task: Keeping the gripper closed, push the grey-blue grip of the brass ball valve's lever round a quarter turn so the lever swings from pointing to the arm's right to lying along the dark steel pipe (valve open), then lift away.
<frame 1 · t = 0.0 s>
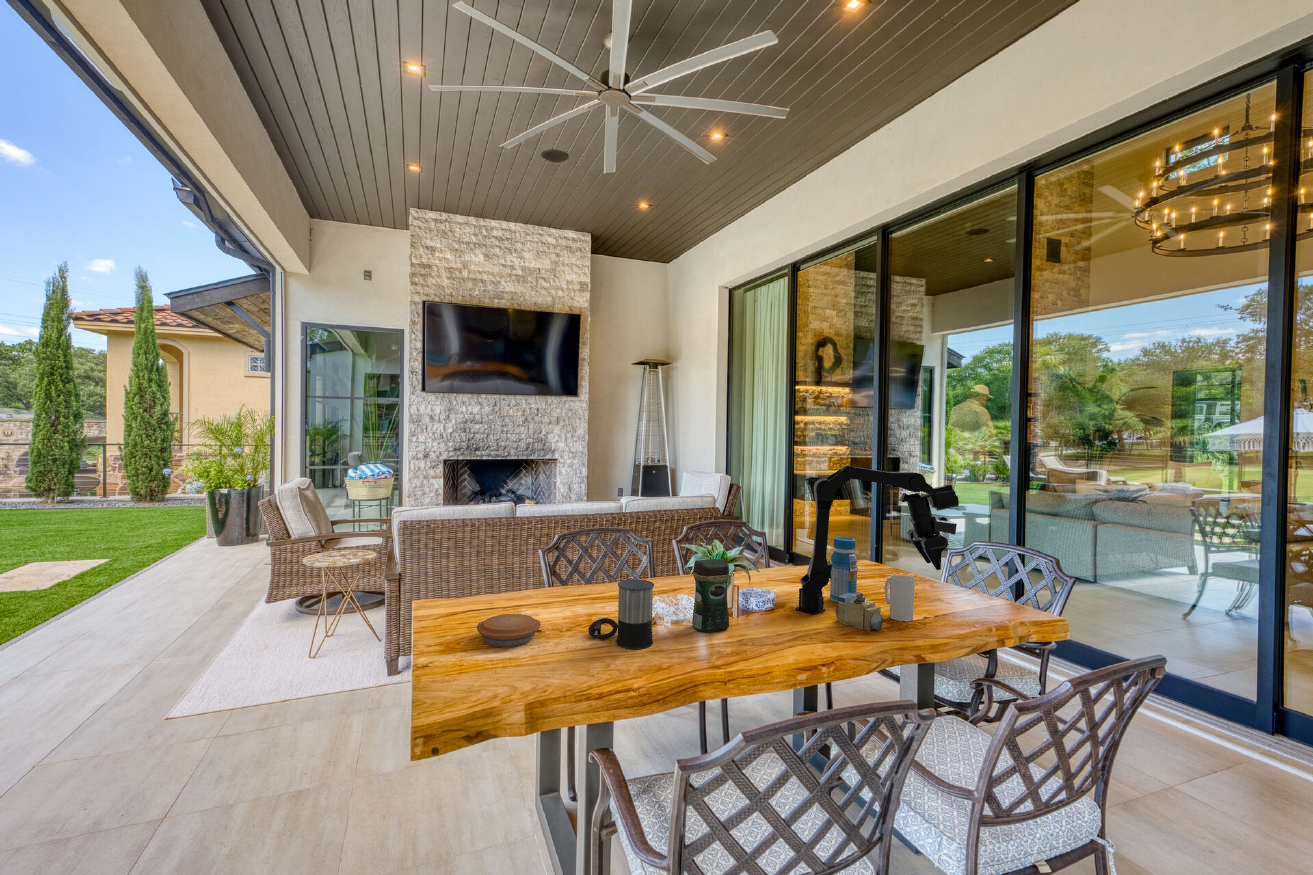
hand: (933, 566, 167), 15 cm above the table, tool pointing down, fingers open, 9 cm apart
mug: (897, 617, 169), on the table
pie: (508, 640, 143), on the table
beverage bottle: (843, 601, 185), on the table
milk frother: (620, 640, 144), on the table
coffee jar: (710, 628, 155), on the table
valve: (858, 624, 161), on the table
lever: (851, 598, 158), point 8 cm above the table, hinge at 0.0°
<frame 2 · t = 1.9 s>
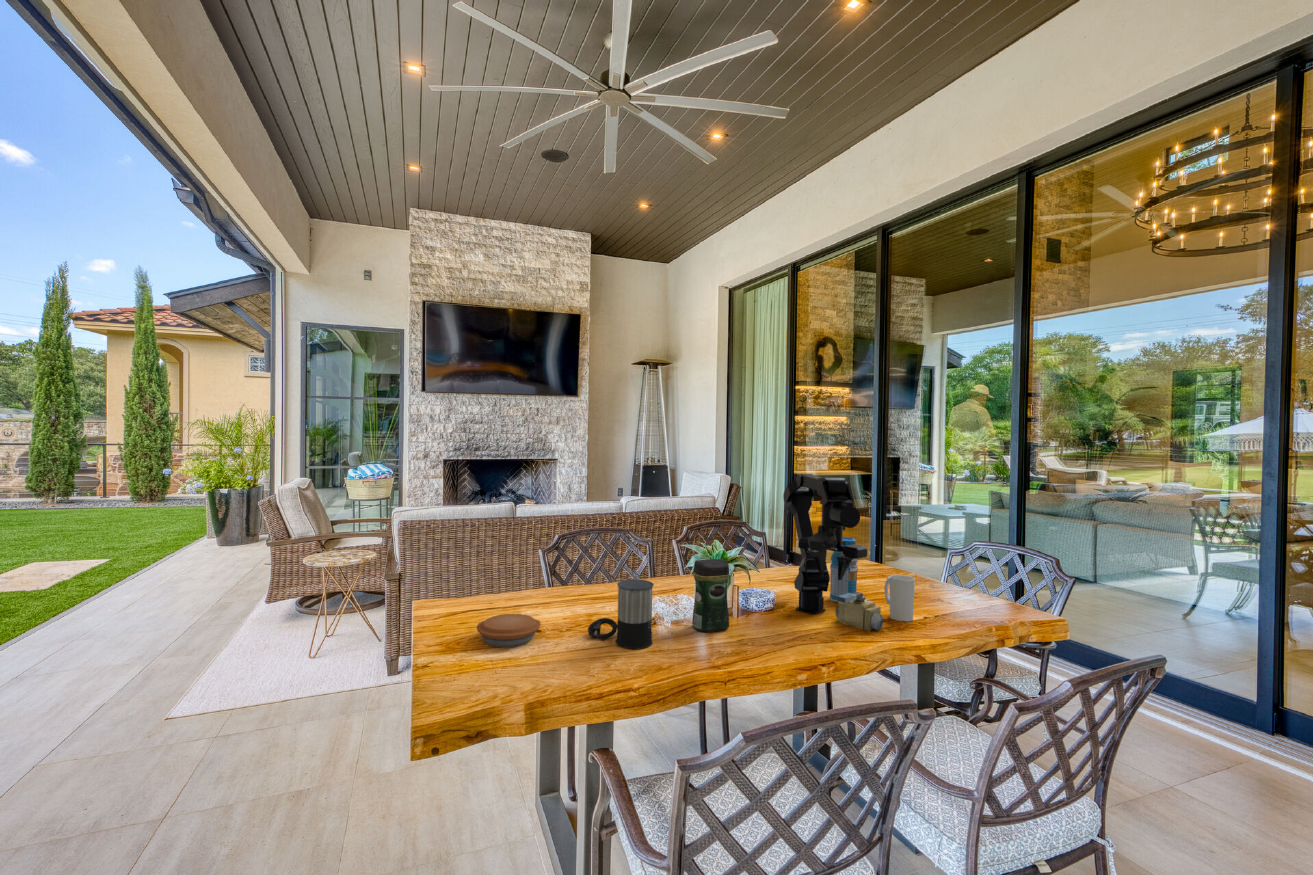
hand: (830, 578, 160), 13 cm above the table, tool pointing down, fingers open, 5 cm apart
nothing on the table moved.
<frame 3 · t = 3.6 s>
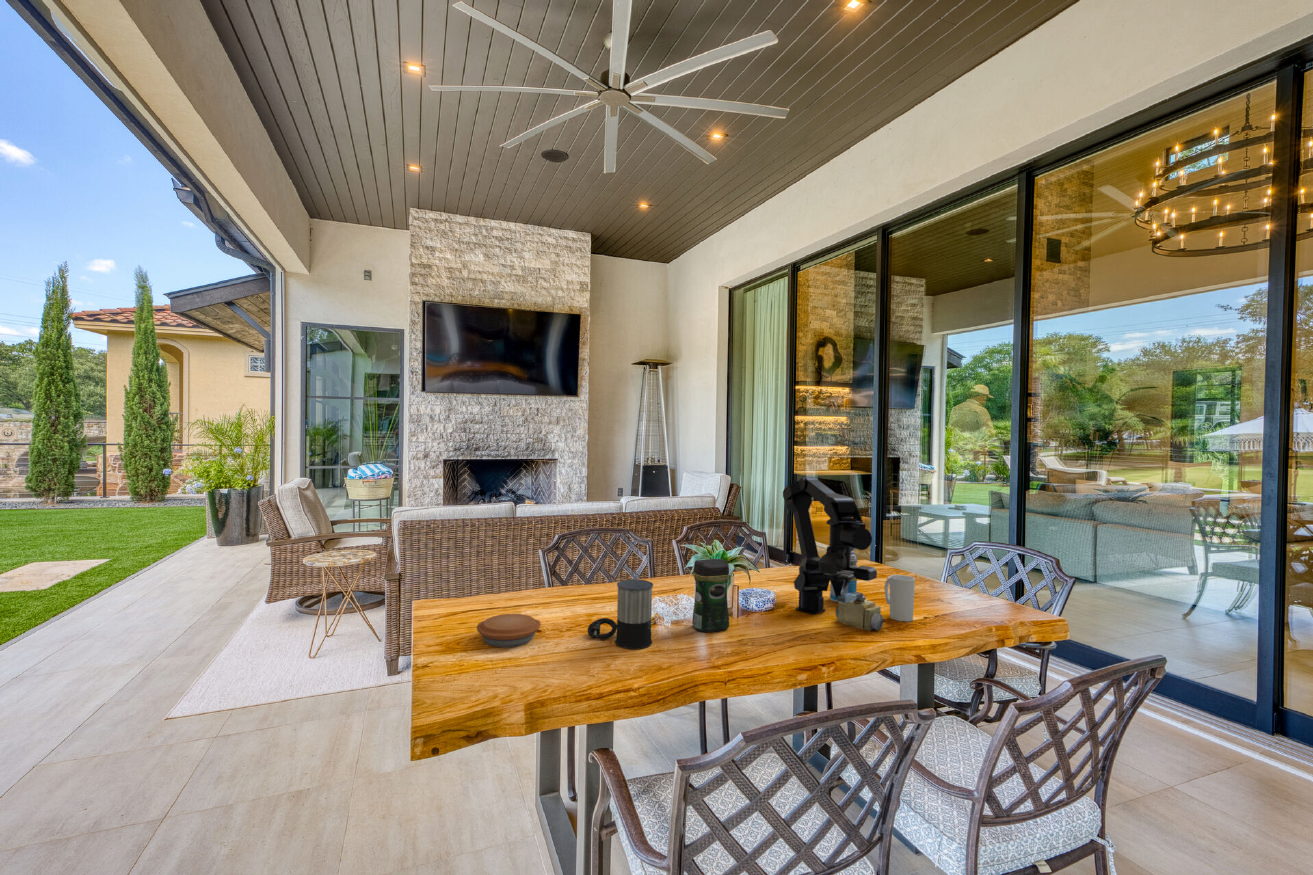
hand: (838, 599, 158), 8 cm above the table, tool pointing down, fingers closed
lever: (851, 598, 158), point 8 cm above the table, hinge at 0.1°, touching gripper
everything else where it was.
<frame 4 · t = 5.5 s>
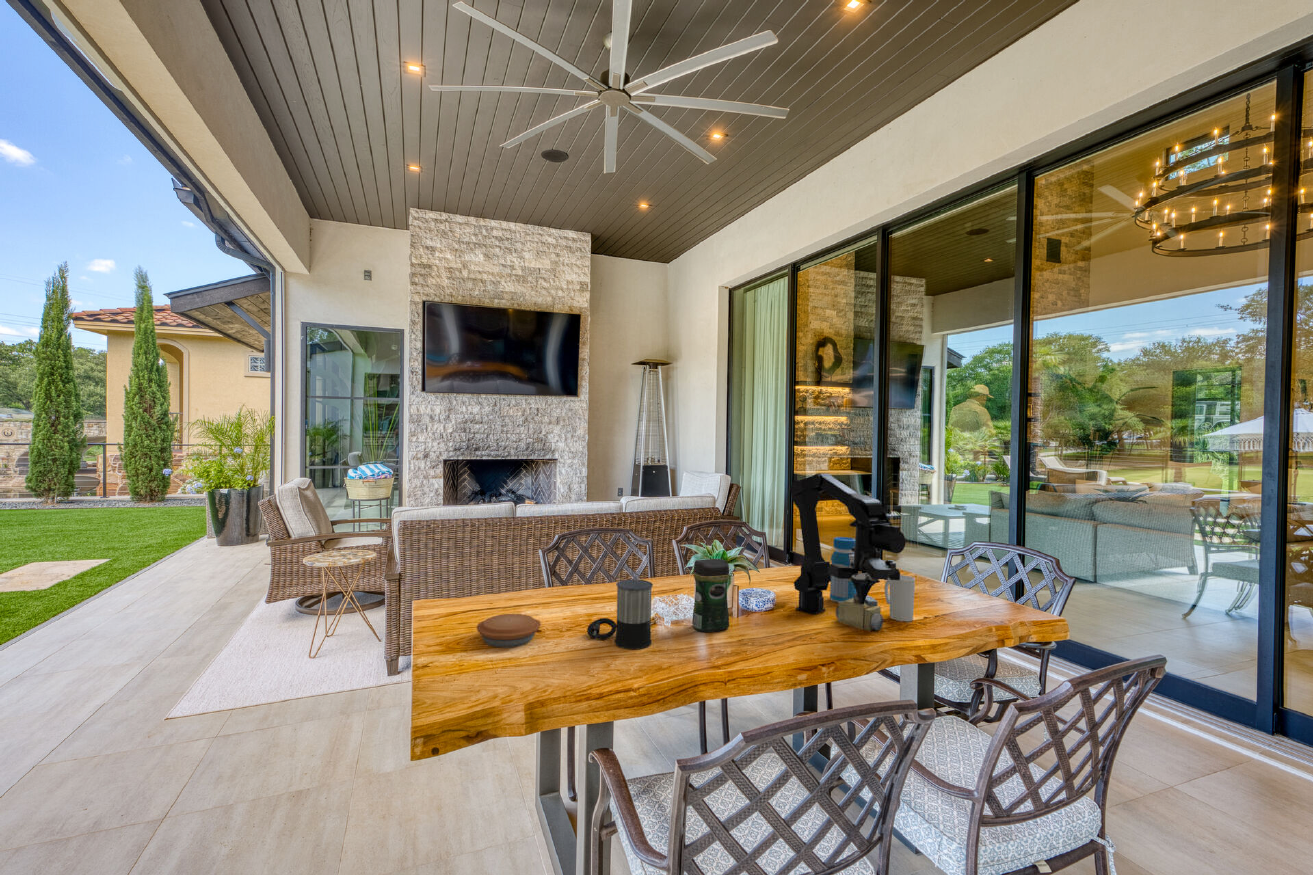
hand: (861, 603, 154), 8 cm above the table, tool pointing down, fingers closed
lever: (865, 600, 157), point 8 cm above the table, hinge at 51.2°, touching gripper
everything else where it was.
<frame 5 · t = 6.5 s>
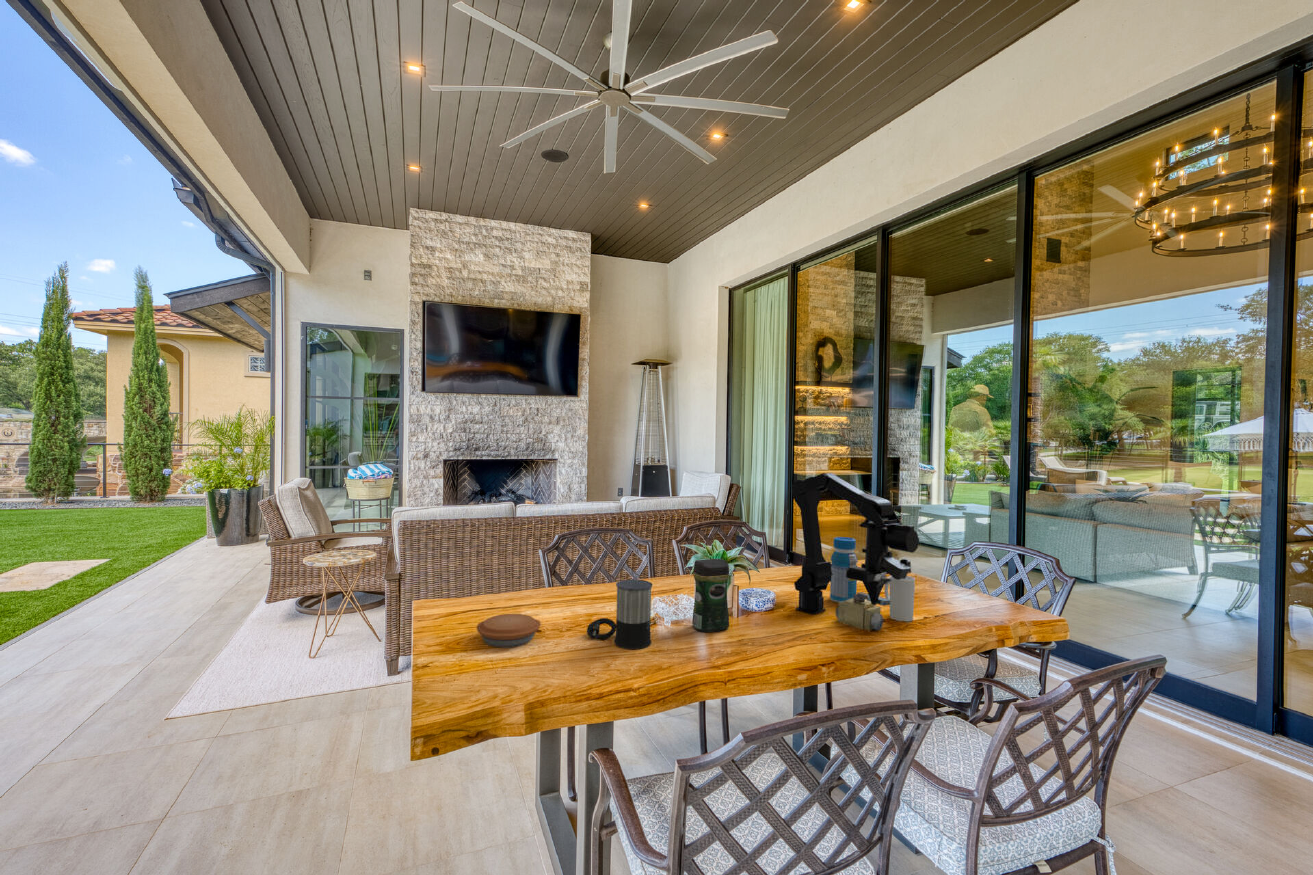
hand: (874, 604, 154), 8 cm above the table, tool pointing down, fingers closed
lever: (870, 599, 157), point 8 cm above the table, hinge at 77.5°, touching gripper
everything else where it was.
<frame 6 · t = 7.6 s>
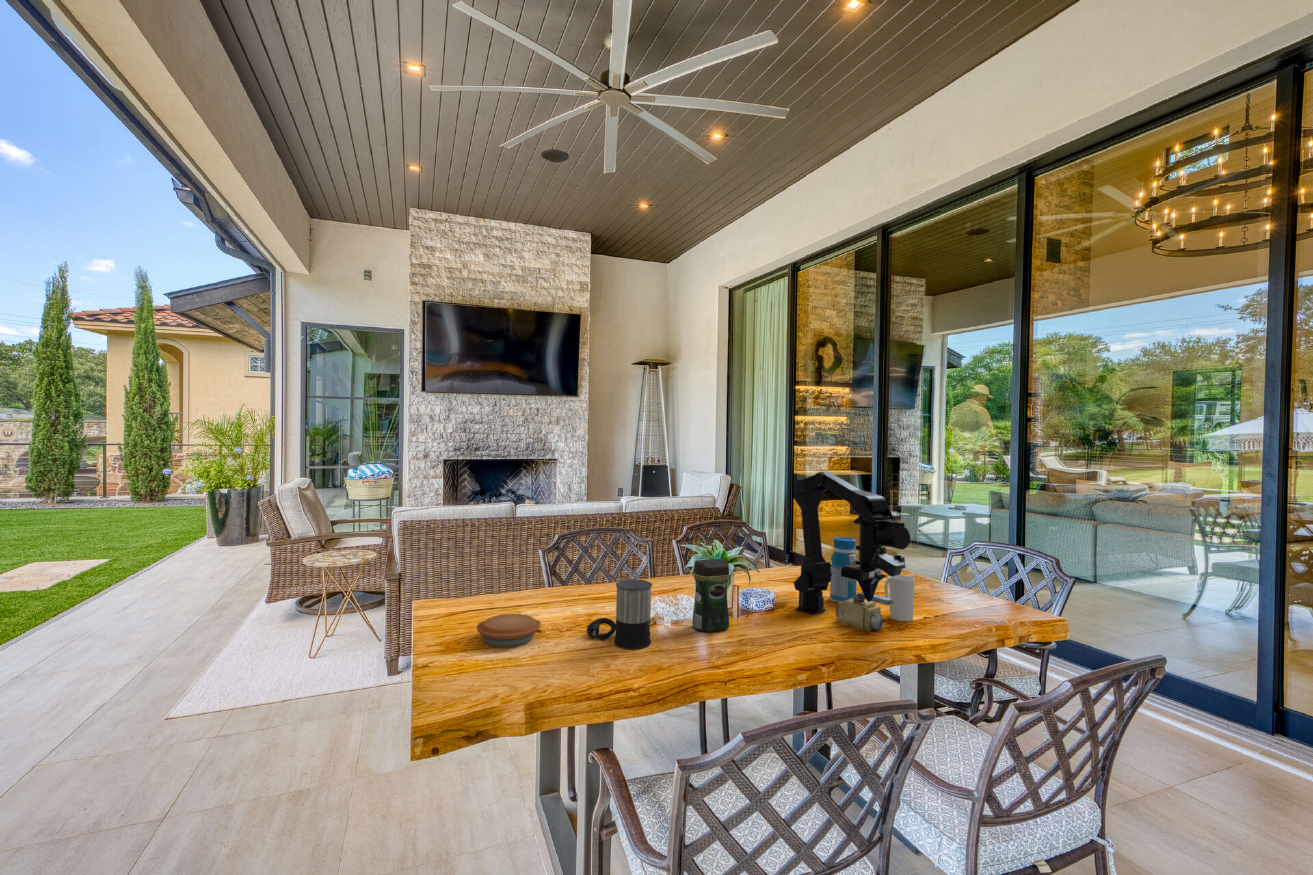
hand: (869, 601, 153), 9 cm above the table, tool pointing down, fingers closed
lever: (872, 599, 158), point 8 cm above the table, hinge at 85.8°
everything else where it was.
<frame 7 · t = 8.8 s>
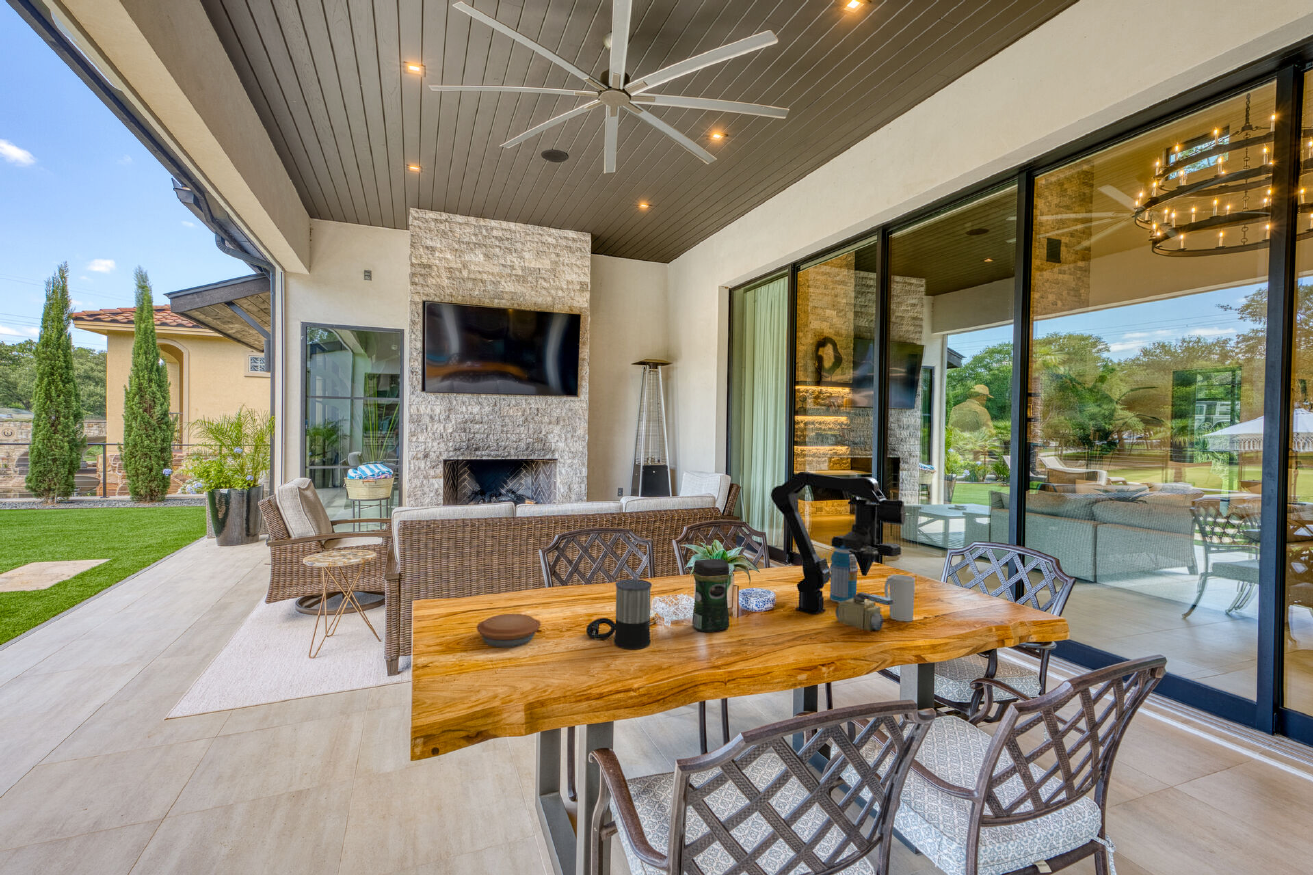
hand: (864, 575, 164), 13 cm above the table, tool pointing down, fingers closed
nothing on the table moved.
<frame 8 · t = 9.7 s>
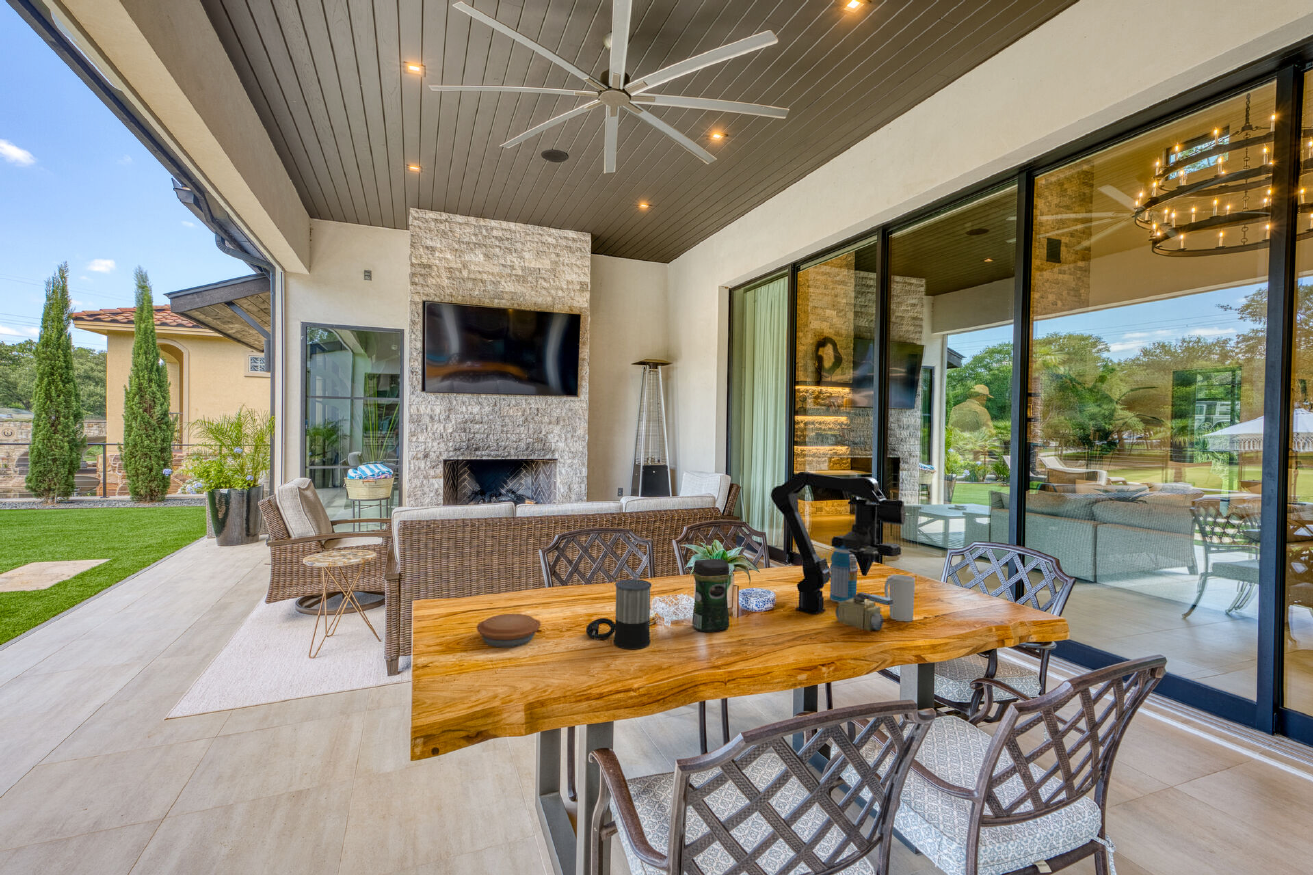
hand: (864, 575, 164), 13 cm above the table, tool pointing down, fingers closed
nothing on the table moved.
at the end: lever at +86° (first picture: +0°) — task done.
